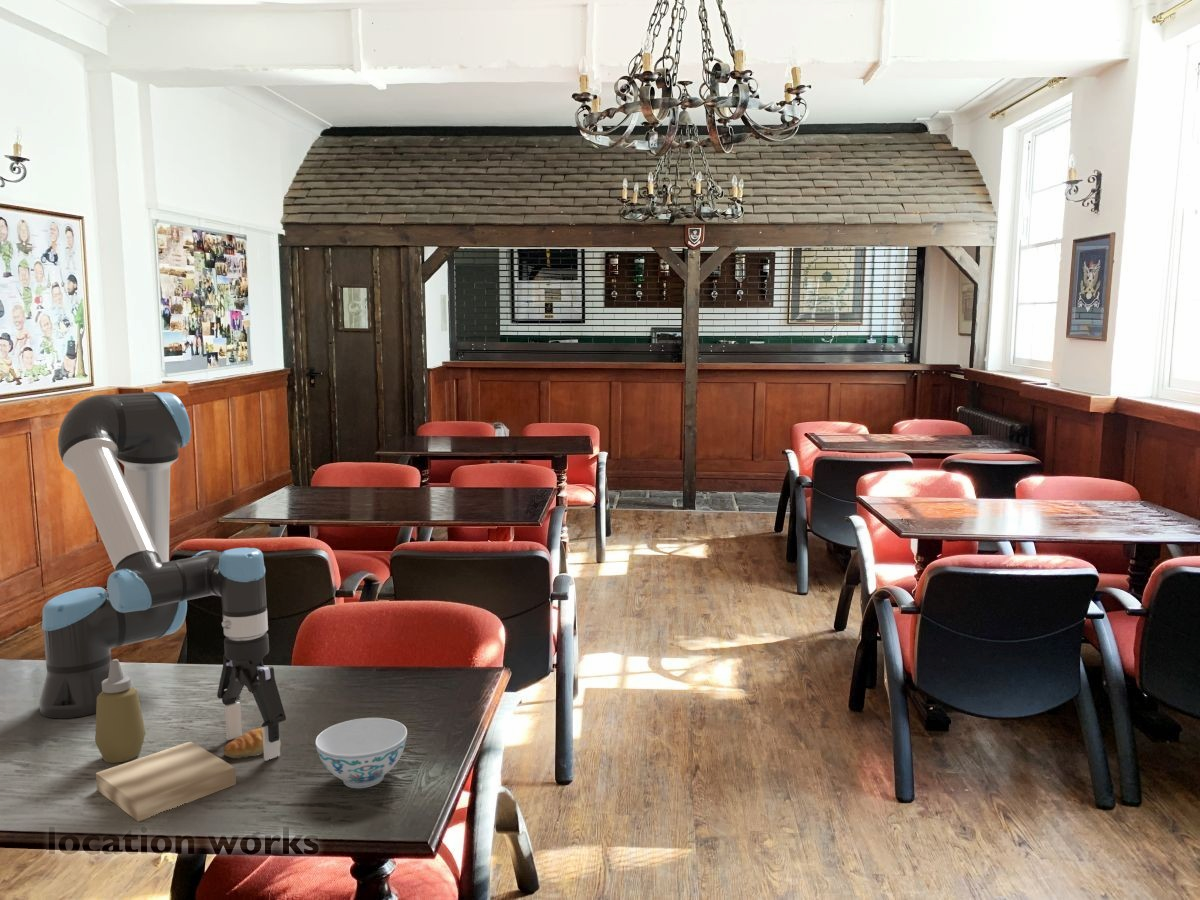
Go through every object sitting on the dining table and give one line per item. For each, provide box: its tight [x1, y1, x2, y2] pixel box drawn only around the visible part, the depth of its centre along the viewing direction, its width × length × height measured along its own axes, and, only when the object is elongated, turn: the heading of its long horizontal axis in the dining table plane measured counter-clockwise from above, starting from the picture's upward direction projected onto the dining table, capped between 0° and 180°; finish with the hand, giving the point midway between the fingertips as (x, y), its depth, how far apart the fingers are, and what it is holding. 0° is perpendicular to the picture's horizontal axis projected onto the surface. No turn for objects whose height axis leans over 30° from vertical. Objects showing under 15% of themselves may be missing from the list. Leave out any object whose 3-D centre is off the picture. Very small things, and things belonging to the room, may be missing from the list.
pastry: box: [223, 727, 282, 759], centre depth 170 cm, size 9×7×4 cm
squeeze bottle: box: [94, 658, 146, 764], centre depth 167 cm, size 8×8×18 cm
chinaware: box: [315, 717, 408, 789], centre depth 158 cm, size 15×15×8 cm
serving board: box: [95, 740, 237, 822], centre depth 156 cm, size 16×16×3 cm
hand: (252, 747), depth 171 cm, fingers open, 13 cm apart
